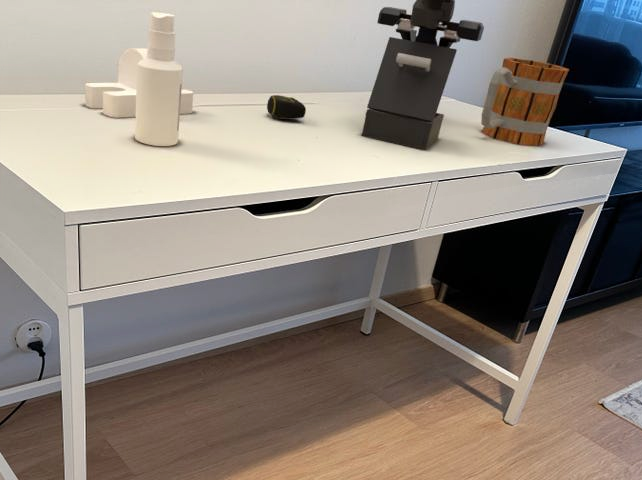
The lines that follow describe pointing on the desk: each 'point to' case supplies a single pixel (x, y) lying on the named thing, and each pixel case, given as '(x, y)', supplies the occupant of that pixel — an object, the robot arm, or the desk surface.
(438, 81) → the lid
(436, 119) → the dark grey box
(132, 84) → the white slotted bracket
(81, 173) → the desk surface
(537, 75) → the mug
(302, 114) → the tape measure
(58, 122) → the desk surface
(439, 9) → the robot arm
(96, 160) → the desk surface
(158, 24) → the spray bottle
